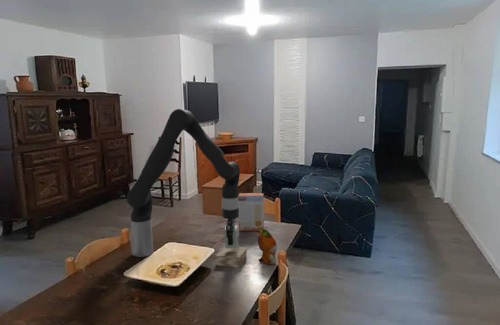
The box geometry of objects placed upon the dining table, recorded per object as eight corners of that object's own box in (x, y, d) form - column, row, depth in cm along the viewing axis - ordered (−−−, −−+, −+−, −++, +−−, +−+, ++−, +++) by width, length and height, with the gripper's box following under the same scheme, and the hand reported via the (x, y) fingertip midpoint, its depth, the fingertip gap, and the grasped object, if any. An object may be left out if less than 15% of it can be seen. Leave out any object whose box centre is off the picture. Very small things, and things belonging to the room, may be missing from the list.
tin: (225, 248, 164) (224, 229, 162) (226, 244, 169) (226, 225, 167) (236, 248, 163) (236, 229, 162) (237, 244, 168) (237, 225, 167)
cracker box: (264, 228, 209) (264, 192, 206) (263, 231, 203) (263, 195, 200) (240, 227, 211) (239, 192, 207) (238, 231, 205) (238, 195, 201)
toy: (275, 266, 161) (275, 234, 158) (255, 265, 163) (255, 233, 160) (278, 256, 172) (278, 225, 169) (260, 254, 173) (259, 224, 171)
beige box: (215, 265, 163) (215, 255, 163) (224, 255, 174) (224, 245, 173) (239, 268, 160) (239, 258, 159) (247, 257, 171) (246, 247, 170)
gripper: (224, 202, 170) (225, 236, 173) (219, 211, 156) (220, 248, 159) (240, 202, 170) (241, 236, 172) (236, 211, 155) (237, 249, 158)
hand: (231, 242), depth 166 cm, fingers closed on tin, 5 cm apart
